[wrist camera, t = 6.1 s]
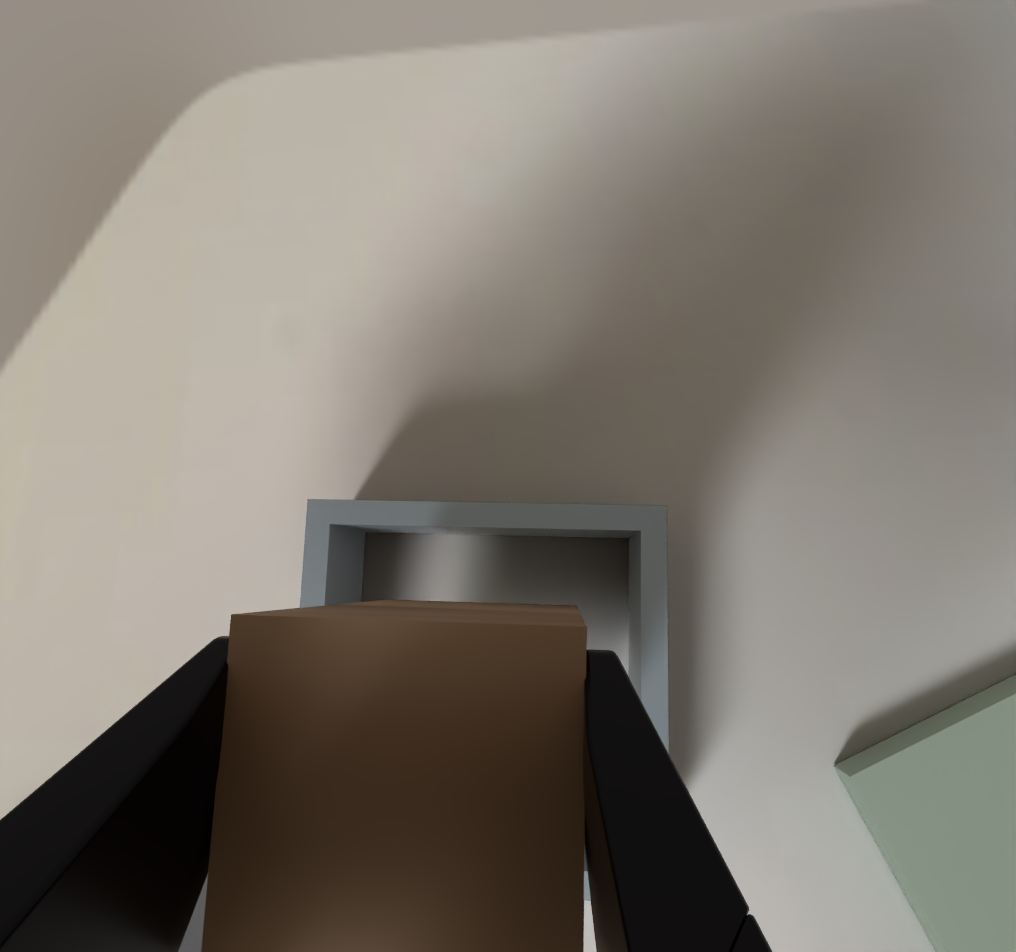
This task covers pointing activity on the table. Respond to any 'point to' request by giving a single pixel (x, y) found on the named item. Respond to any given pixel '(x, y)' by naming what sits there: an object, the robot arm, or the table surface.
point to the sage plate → (949, 818)
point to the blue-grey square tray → (345, 522)
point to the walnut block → (401, 780)
